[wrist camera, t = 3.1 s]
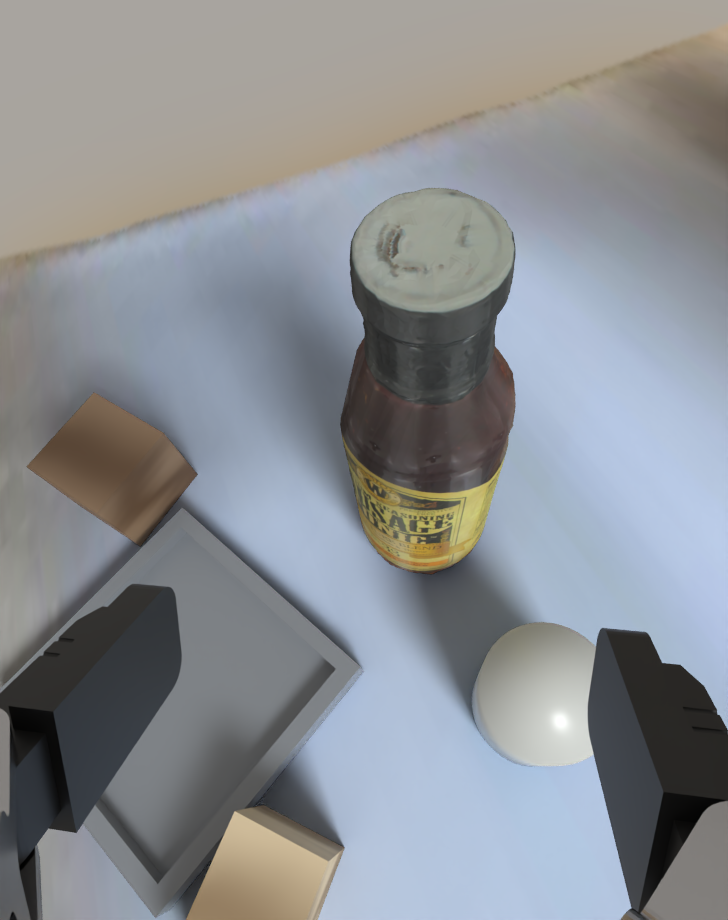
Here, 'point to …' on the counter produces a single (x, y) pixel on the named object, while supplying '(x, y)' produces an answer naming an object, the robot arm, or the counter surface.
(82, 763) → the robot arm
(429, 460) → the sauce bottle
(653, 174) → the counter surface
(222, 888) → the oak block
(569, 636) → the white rounded cylinder
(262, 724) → the tray
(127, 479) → the walnut block
